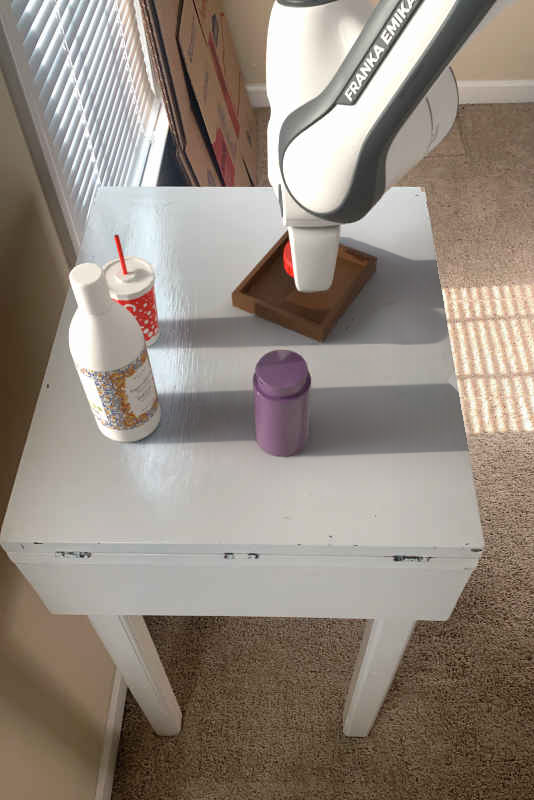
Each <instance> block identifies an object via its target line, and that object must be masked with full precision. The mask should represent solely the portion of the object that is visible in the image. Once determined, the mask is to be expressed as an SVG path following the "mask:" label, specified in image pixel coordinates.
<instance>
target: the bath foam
mask: <svg viewBox="0 0 534 800" xmlns="http://www.w3.org/2000/svg"><path fill="white" fill-rule="evenodd" d="M69 281H70V285H71V288H72V291H73V294H74V297H75V300H76V303H77V305H78V307H77V309H76V311H75V313H74V315H73V317H72V320H71V323H70V326H69V331H68V343H69V350H70V354H71V357H72V360H73V362H74V365H75V368H76V370H77V373H78V376H79V379H80V381H81V383H82V387H83V389H84V392H85V394H86V398H87V401H88V403H89V405H90V409H91V411H92V414H93V416H94V418H95V421H96V424H97V426H98V429H99V431H100V432H101V433H102V434H103V435H104V436H105V437H107V438H109V439H110V440H112V441H115V442H120V443H132V442H133V443H134V442H138V441H140V440H142V439H145V438H147V437H148V436H149V435H151V434H152V433H153V432H154V431H155V430H156V428H157V427H158V426H159V424H160V422H161V419H162V408H161V403H160V399H159V394H158V390H157V387H156V382H155V377H154V373H153V368H152V365H151V361H150V357H149V351H148V347H146V343H145V339H144V335H143V332H142V330H141V328H140V325H139V324H138V322H137V320H136V319H135V317H134V316H133V315H132V314H131V313H130V312H129V311H128V310H127V309H126V308H125V307H123V306H122V305H121V304H119V303H118V302H116V301H114V300H113V299H111V295H110V292H109V288H108V284H107V281H106V277H105V273H104V271H103V269H102V266H101V265H99V264H97V263H95V262H82V263H81V264H78V265H76V266H74V267H73V268H72V269H71V271H70V273H69Z"/></svg>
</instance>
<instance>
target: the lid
mask: <svg viewBox="0 0 534 800" xmlns="http://www.w3.org/2000/svg"><path fill="white" fill-rule="evenodd" d="M283 261H284V268H285V270H286V271H287V273H288V274H289V275H290V276H292V277H293V278H294V271H293V262H292V254H291V245H290V241H289V242H288V243H287V244H286V246H285V249H284V257H283Z"/></svg>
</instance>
